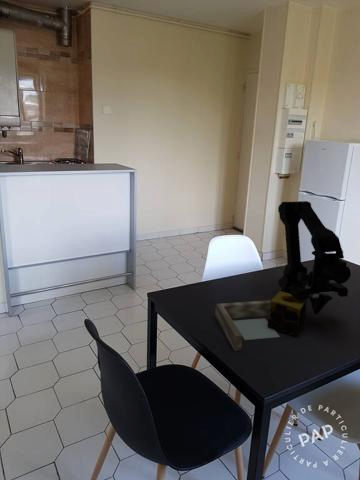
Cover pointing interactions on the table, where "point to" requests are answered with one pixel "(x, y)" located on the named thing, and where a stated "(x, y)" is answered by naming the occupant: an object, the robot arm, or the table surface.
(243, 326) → the mat
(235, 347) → the arena
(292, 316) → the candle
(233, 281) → the table surface
